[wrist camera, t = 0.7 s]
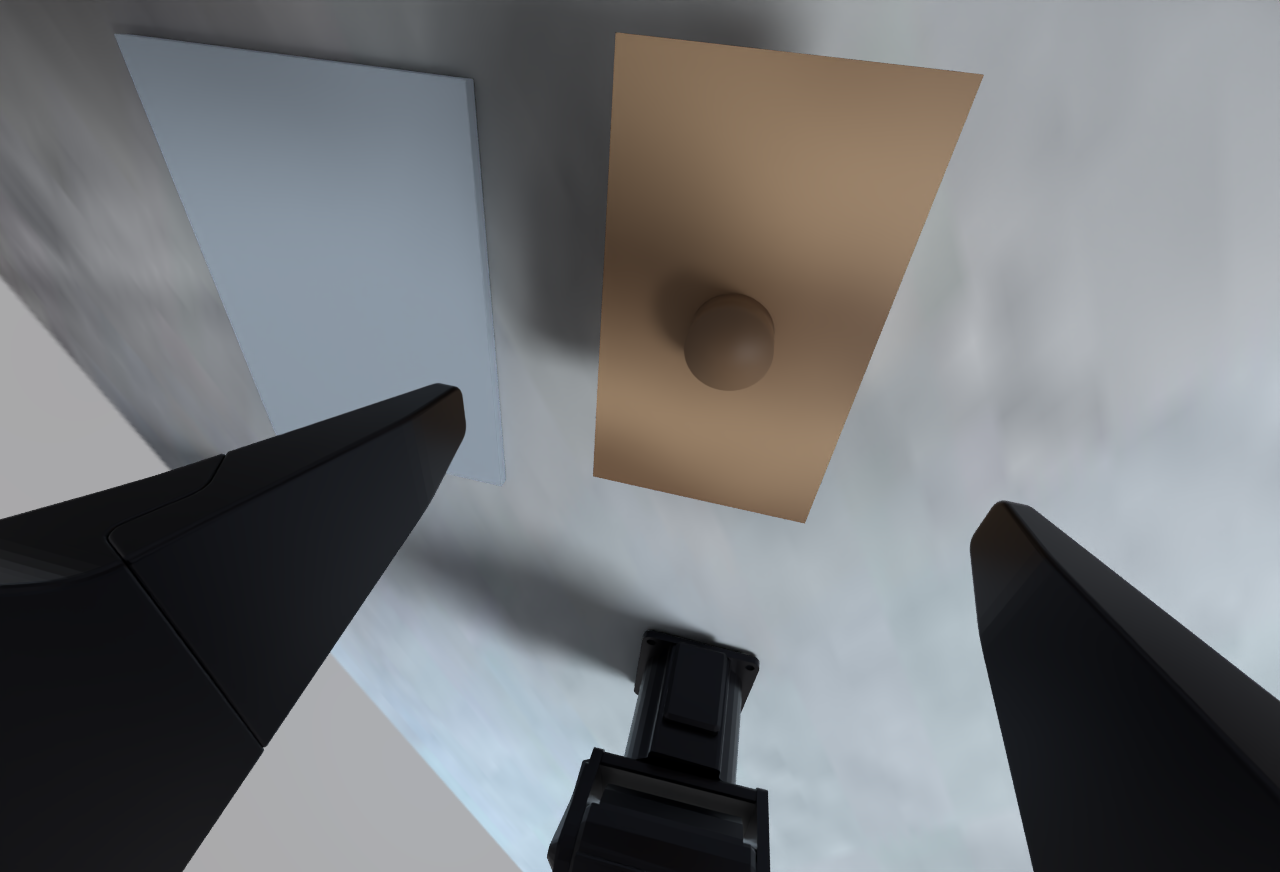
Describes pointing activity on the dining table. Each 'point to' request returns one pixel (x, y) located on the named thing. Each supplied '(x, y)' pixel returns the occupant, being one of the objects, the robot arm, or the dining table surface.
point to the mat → (335, 226)
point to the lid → (755, 257)
